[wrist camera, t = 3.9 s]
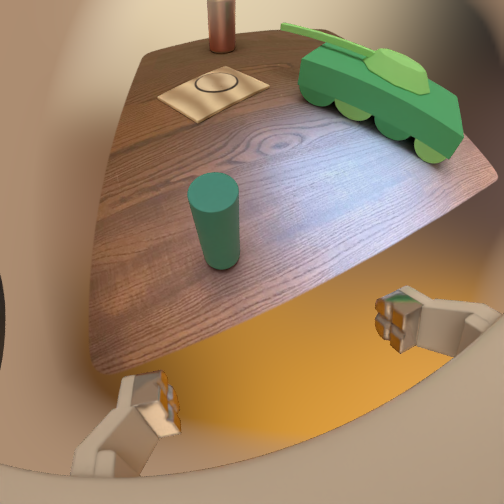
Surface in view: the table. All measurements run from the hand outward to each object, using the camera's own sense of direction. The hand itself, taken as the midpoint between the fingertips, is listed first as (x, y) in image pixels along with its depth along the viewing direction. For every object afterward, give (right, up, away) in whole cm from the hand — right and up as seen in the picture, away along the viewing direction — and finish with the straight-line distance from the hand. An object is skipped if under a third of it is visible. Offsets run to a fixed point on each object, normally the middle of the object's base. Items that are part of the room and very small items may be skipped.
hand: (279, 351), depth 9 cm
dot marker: (-4, +3, +20) cm, 20 cm away
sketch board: (-8, +32, +33) cm, 47 cm away
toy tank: (+19, +31, +34) cm, 50 cm away
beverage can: (-8, +51, +43) cm, 67 cm away
